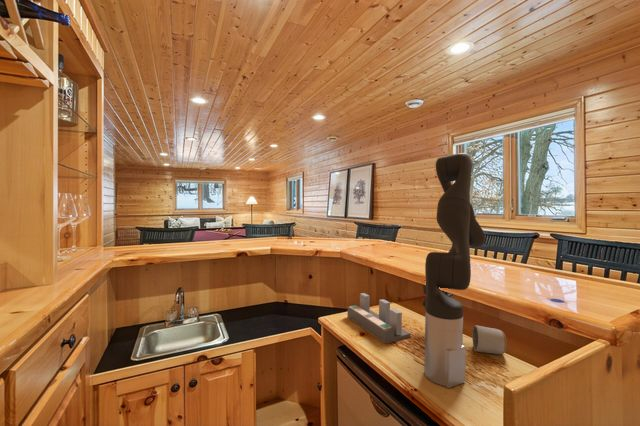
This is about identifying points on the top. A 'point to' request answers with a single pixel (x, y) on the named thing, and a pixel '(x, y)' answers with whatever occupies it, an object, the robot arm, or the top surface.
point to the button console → (375, 325)
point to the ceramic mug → (488, 340)
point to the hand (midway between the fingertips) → (425, 307)
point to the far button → (365, 302)
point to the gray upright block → (384, 310)
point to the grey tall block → (396, 321)
